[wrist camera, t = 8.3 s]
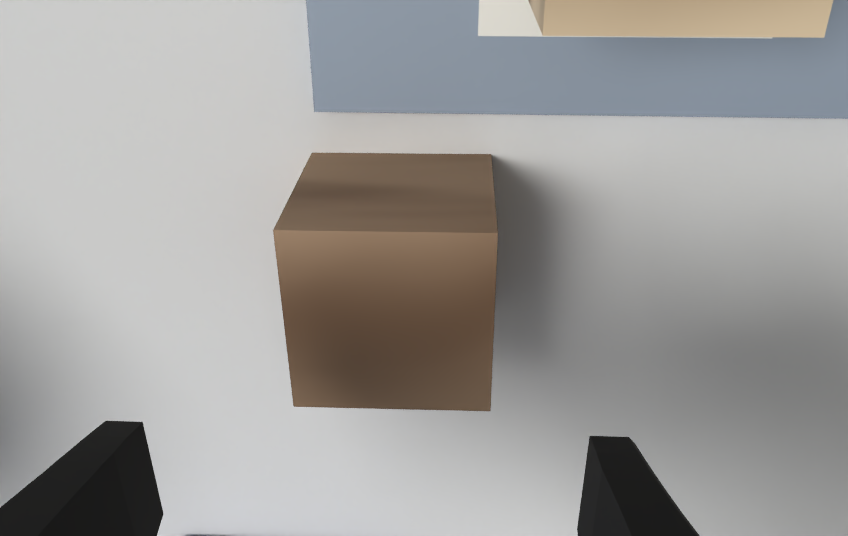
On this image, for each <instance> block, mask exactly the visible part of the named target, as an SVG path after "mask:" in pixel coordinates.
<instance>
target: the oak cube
mask: <svg viewBox="0 0 848 536" xmlns="http://www.w3.org/2000/svg"><path fill="white" fill-rule="evenodd" d="M528 1H529V4H530V6H531V9H532V11H533V13H534V16H535V18H536V21H537V23H538V26H539V28H540V30H541V33H542V35H543V36H658V37H811V38H824V37H825V32H826V28H827V24H828V20H829V16H830V12H831V8H832V4H833V0H528Z"/></svg>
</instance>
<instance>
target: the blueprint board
mask: <svg viewBox="0 0 848 536" xmlns="http://www.w3.org/2000/svg"><path fill="white" fill-rule="evenodd" d="M306 5H307V19H308V32H309V46H310V60H311V73H312V87H313V101H314V112H373V113H451V114H530V115H608V116H686V117H765V118H843V119H848V0H833V4H832V8H831V12H830V16H829V20H828V24H827V28H826V32H825V37H824V38H811V37H658V36H543V35H542V33H541V30H540V28H539V26H538V23H537V21H536V18H535V16H534V13H533V11H532V9H531V6H530V4H529V1H528V0H306Z"/></svg>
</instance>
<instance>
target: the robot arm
mask: <svg viewBox="0 0 848 536" xmlns="http://www.w3.org/2000/svg"><path fill="white" fill-rule="evenodd" d="M162 516H163V510H162V506H161V502H160V497H159V493H158V488H157V484H156V479H155V475H154V471H153V466H152V462H151V457H150V453H149V449H148V444H147V440H146V435H145V431H144V427H143V422H124V421H105V422H104V423H103V424H101V425H100V426H99V427H97V428H96V429H95V430H94V431H92V432H91V433H90V434H89V435H88V436H86V437H85V438H84V439H83V440H81V441H80V442H79V443H78V444H77V445H75V446H74V447H73V448H72V449H71V450H70V451H68V452H67V453H66V454H65V455H64V456H62V457H61V458H60V459H59V460H58V461H56V462H55V463H54V464H53V465H52V466H50V467H49V468H48V469H47V470H46V471H44V472H43V473H42V474H41V475H40V476H38V477H37V478H36V479H35V480H34V481H32V482H31V483H30V484H29V485H27V486H26V487H25V488H24V489H23V490H21V491H20V492H19V493H18V494H16V495H15V496H14V497H13V498H11V499H10V500H9V501H8V502H7V503H5V504H4V505H3V506H2V507H0V536H157V533H158V530H159V526H160V523H161V520H162ZM577 530H578V536H699V534H698V533H697V532H696V531H695V529H694V528H693V527H692V525H691V524H690V523H689V521H688V520H687V519H686V518H685V516H684V515H683V513H682V512H681V511H680V509H679V508H678V507H677V505H676V504H675V502H674V501H673V500H672V498H671V497H670V495H669V494H668V493H667V491H666V490H665V488H664V487H663V485H662V484H661V483H660V481H659V480H658V478H657V477H656V475H655V474H654V472H653V471H652V469H651V468H650V466H649V465H648V463H647V462H646V460H645V459H644V457H643V456H642V454H641V452H640V451H639V449H638V448H637V446H636V445H635V443H634V442H633V441H632V440H631V439H630V438H629V437H605V436H590V438H589V446H588V453H587V461H586V468H585V476H584V483H583V490H582V498H581V505H580V513H579V520H578V528H577Z"/></svg>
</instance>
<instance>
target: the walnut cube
mask: <svg viewBox="0 0 848 536" xmlns="http://www.w3.org/2000/svg"><path fill="white" fill-rule="evenodd" d="M273 232H274V241H275V250H276V258H277V267H278V275H279V284H280V293H281V301H282V310H283V318H284V327H285V336H286V344H287V353H288V362H289V370H290V379H291V387H292V396H293V405H294V407H334V408H377V409H420V410H463V411H490V407H491V384H492V360H493V336H494V312H495V289H496V265H497V241H498V229H497V217H496V206H495V194H494V182H493V170H492V158H491V154H391V153H312V154H311V156H310V158H309V160H308V162H307V164H306V166H305V168H304V170H303V172H302V174H301V176H300V178H299V180H298V182H297V184H296V186H295V188H294V190H293V192H292V194H291V196H290V198H289V200H288V202H287V204H286V206H285V208H284V210H283V212H282V214H281V216H280V218H279V220H278V222H277V224H276V226H275V228H274V230H273Z"/></svg>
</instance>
